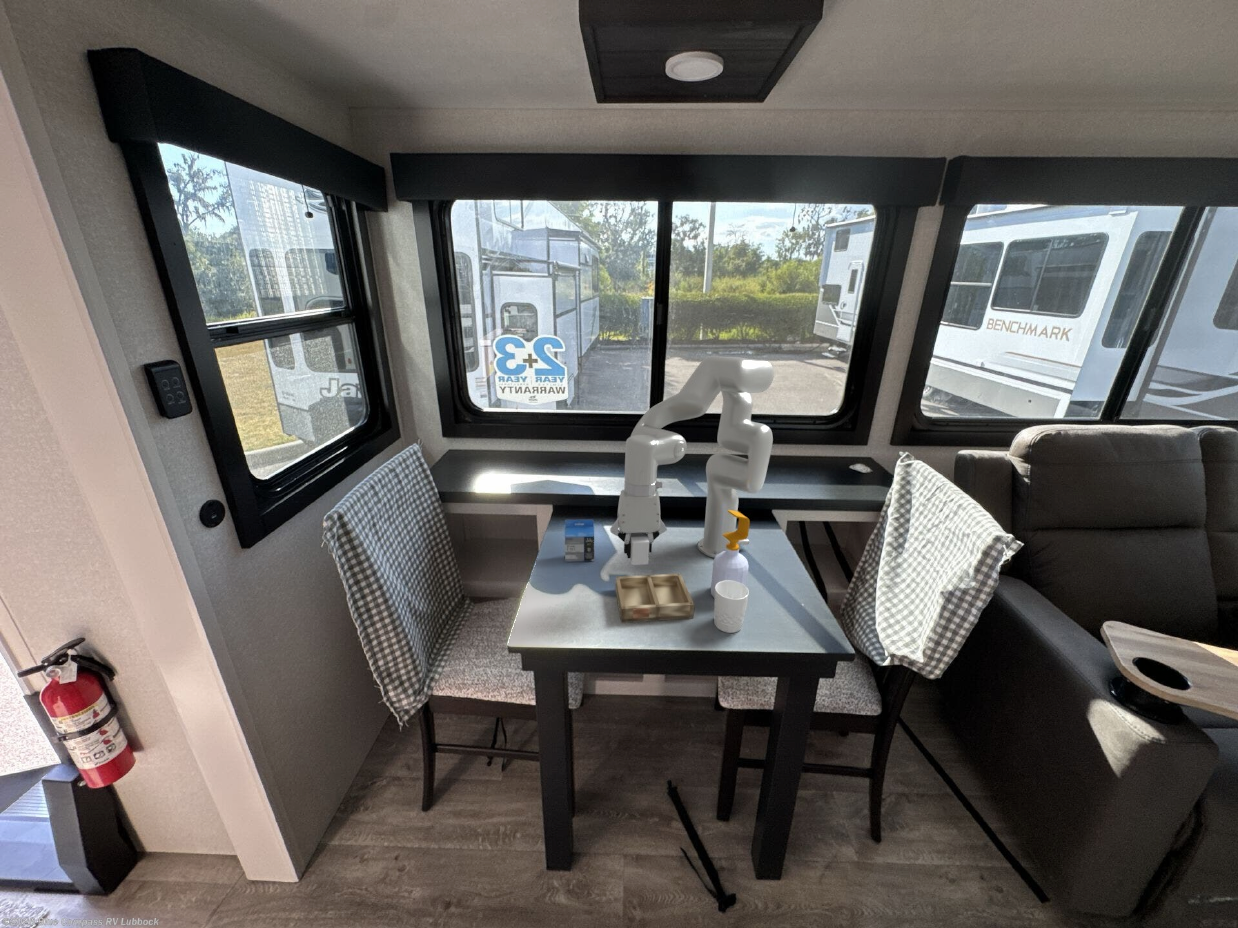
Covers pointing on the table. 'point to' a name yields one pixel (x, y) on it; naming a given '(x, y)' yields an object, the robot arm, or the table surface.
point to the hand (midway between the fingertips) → (637, 554)
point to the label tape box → (579, 540)
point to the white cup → (730, 605)
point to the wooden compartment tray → (653, 598)
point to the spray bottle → (732, 556)
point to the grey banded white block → (639, 548)
